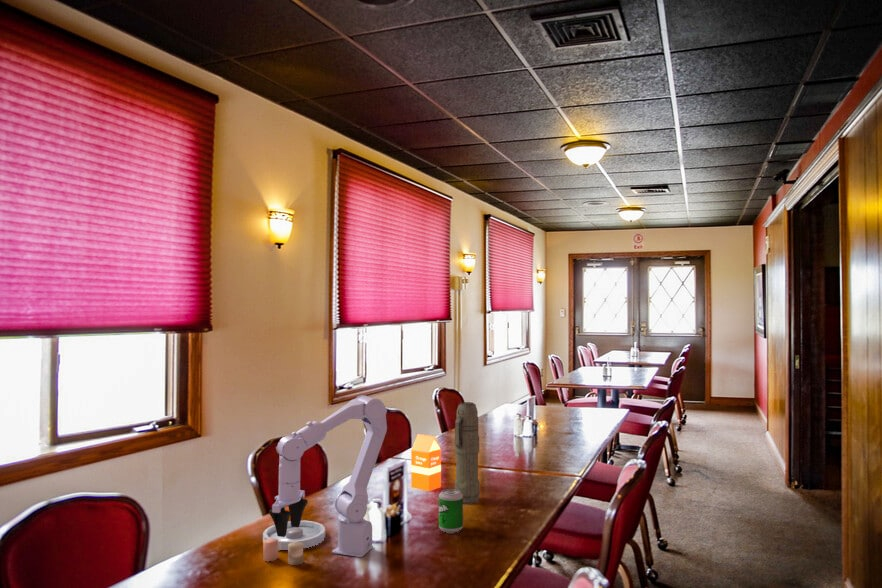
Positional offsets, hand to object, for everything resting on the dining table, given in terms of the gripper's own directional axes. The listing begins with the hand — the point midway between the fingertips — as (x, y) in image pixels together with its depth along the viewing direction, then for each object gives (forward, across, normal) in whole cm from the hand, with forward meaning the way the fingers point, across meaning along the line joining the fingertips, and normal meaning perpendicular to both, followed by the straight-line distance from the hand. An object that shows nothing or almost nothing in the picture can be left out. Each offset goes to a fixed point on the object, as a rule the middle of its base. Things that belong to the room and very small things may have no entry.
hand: (288, 531), depth 172 cm
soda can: (+8, -36, +37) cm, 52 cm away
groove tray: (+9, -17, -7) cm, 20 cm away
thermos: (+8, -67, +35) cm, 76 cm away
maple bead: (+9, -1, +2) cm, 9 cm away
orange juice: (+8, -79, +16) cm, 81 cm away
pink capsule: (+9, -2, -6) cm, 11 cm away
